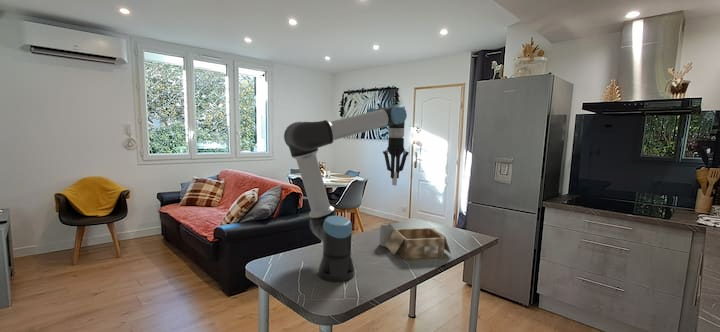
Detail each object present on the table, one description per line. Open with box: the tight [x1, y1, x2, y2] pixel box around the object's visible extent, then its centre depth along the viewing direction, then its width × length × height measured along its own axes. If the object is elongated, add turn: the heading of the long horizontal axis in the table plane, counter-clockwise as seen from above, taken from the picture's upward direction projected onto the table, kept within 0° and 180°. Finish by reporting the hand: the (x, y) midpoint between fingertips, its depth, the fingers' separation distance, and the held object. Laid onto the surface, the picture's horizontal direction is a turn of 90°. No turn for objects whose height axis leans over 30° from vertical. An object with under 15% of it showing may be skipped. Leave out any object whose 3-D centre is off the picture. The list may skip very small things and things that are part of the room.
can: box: [379, 221, 395, 249], centre depth 169 cm, size 8×8×12 cm
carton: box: [394, 227, 445, 261], centre depth 160 cm, size 20×17×10 cm
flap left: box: [385, 228, 404, 256], centre depth 158 cm, size 9×14×1 cm
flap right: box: [431, 228, 451, 254], centre depth 163 cm, size 9×14×1 cm
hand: (394, 184), depth 158 cm, fingers closed
